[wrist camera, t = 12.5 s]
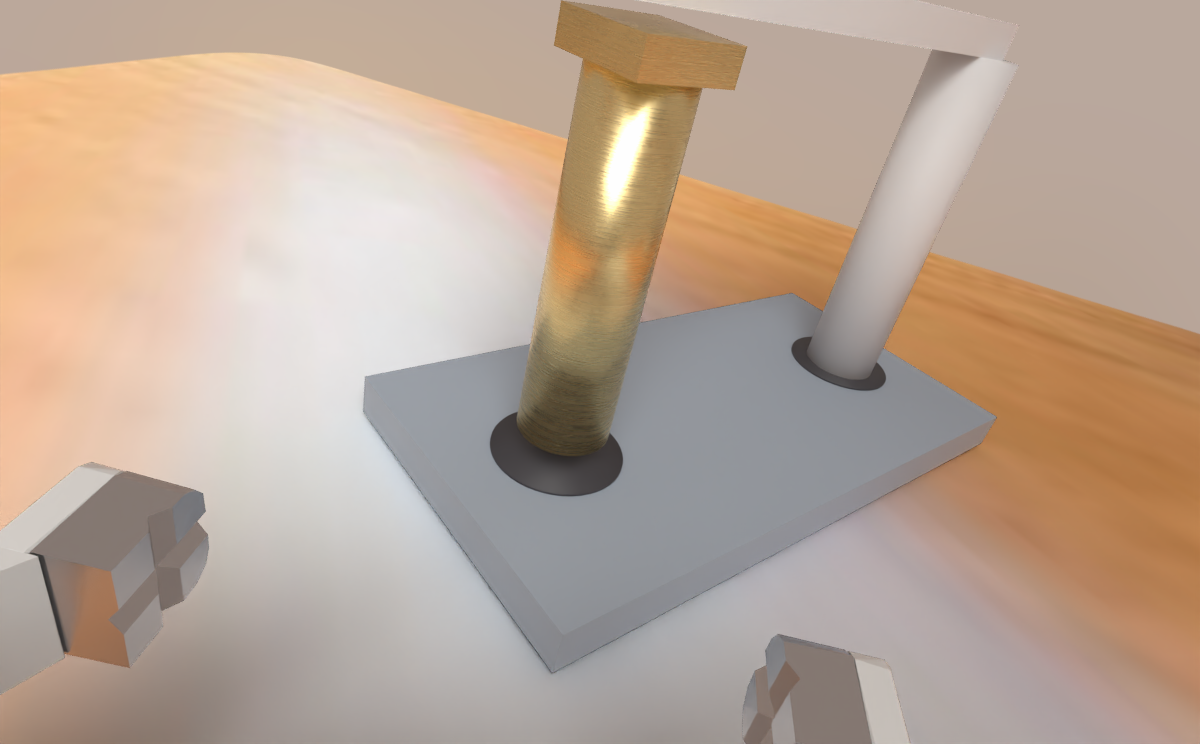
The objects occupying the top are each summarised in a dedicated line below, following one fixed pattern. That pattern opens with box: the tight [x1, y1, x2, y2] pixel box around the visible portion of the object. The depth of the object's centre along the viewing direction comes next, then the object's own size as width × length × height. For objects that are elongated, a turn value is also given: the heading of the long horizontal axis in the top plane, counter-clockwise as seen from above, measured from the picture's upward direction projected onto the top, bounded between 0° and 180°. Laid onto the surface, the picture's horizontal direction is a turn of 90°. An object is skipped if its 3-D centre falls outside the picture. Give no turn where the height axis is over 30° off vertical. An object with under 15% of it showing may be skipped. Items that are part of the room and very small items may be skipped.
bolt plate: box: [363, 0, 1019, 673], centre depth 25 cm, size 24×12×16 cm, turn 128°
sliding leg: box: [517, 1, 747, 456], centre depth 20 cm, size 3×3×12 cm
